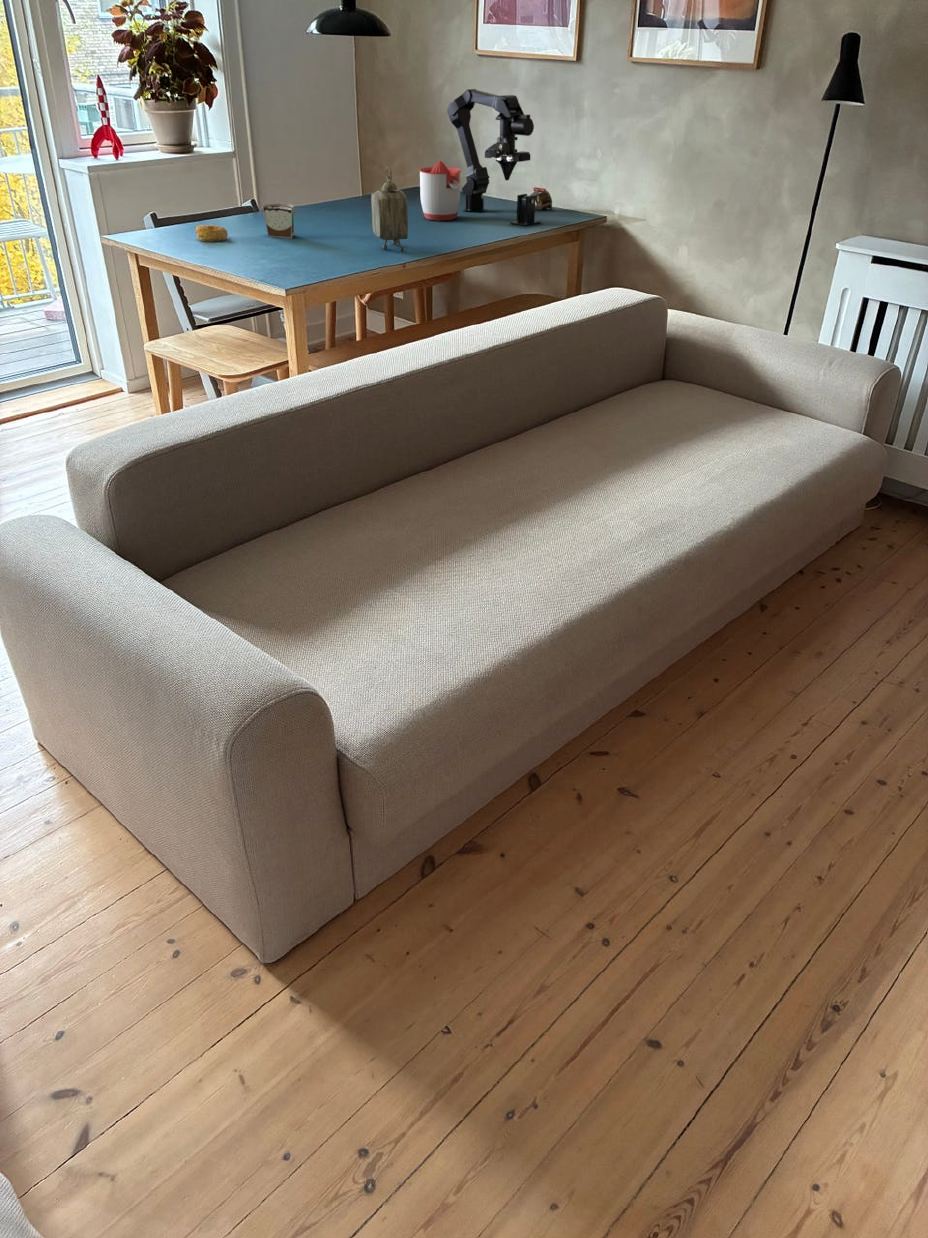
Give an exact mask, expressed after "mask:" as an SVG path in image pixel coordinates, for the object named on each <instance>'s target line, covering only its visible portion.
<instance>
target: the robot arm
mask: <svg viewBox="0 0 928 1238" xmlns="http://www.w3.org/2000/svg"><path fill="white" fill-rule="evenodd" d="M475 104H478V105H482V106H487V107H490V108H493V109H494V111H496V112H498V115H497V116H496V117H495V118H494V119H495V121H499V136H498V137H497V138H496V143H492V145H491V146H489V147H488V148H487V149H485V151H484V158H485V159H491V158H494V159H495V162H497V163H498V164H499V166H500V168H501V170H502V175H503V178H504V181H509V180H510V178H511V175H512V174H513V171H514V169H515V167H516V165H517V163H519V162H520V163H521V162H529V161H531V153H530V152H529V151H523V150H522V151H521V150H520V151H518V149H517V148H516V141H518V140H519V139H518V136H524V137H530V136H531V135H532V134H533V132H534V129H535V125H534V122H533V119H532V118H531V114H525V113H524V111H523V109H522V106H521V105H520V102H519V99H518V97H517V95H515V94H504V95H498V94H495V93H489V92H486V91H483V90H477V89H476V88H470V89H466V90H465V91H464V92H463V93H462V94H460V95H459V96H458V97H456V98H455V99H453V101H451V102H450V103H449V104H448V107H447V110H446V111H447V116H448V119H449V120H450V123H451V124H452V126H454V127H455V129H456V130H457V131H456V132H457V134H458V135H457V136H458V137H459V141H460V145H461V149H462V153H463V156H464V160H465V164H466V168H467V170H466V174H465V179H466V182H465V183H464V185H463V186H462V187H461V192H462V195H465V209H464V212H466V213H467V212H469V213H482V212H483V210H484V209H485V198H484V194H486V193H487V191H488V187H489V184H490V175H489V172H488V168H487V166H484V167H483V165H482V164H481V163H480V159H479V155H478V152H477V148H476V145H475V142H474V137H473V133H472V130H471V126H470V123H471V120H472V119H471V118H472V114H471V111H472V110H473V109H474V107H475Z"/></svg>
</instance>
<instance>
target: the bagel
mask: <svg viewBox="0 0 928 1238" xmlns="http://www.w3.org/2000/svg"><path fill="white" fill-rule="evenodd" d="M195 234H196V236H197V239H198V240H199V241H201V242H207V243H209V242H210V243H211V242H212V243H213V242H220V241H225V240H227V238H228V237H229V234H228V230H226V228H224V227H223V226H219V225H216V224H215V225H214V224H206V225H204V224H199V225H197V226H196V227H195Z"/></svg>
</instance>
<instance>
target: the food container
mask: <svg viewBox="0 0 928 1238" xmlns="http://www.w3.org/2000/svg"><path fill="white" fill-rule="evenodd" d="M261 212H262V213H263V217H264V222H265V229H266V232H267V237H268V238H280V239H281V238H282V239H293V238H294V237H295V236H294V235H295V234H294V232H295V231H294V230H295V228H294V225H295V224H294V223H295V222H294V221H295V218H294V217H295V215H296V209H295V207H294V205H293V204H289V203H288V204H287V203H269V204H263V205H262V206H261Z"/></svg>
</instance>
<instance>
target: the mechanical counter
mask: <svg viewBox="0 0 928 1238" xmlns="http://www.w3.org/2000/svg"><path fill="white" fill-rule="evenodd" d="M548 209H549V210H551V211H553V199H552V196H551V194H550V191H548V190H546V192H545V193H543V192H540V193H538V194H537V195H536V197H535V210H541V211H545V210H548Z"/></svg>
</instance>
